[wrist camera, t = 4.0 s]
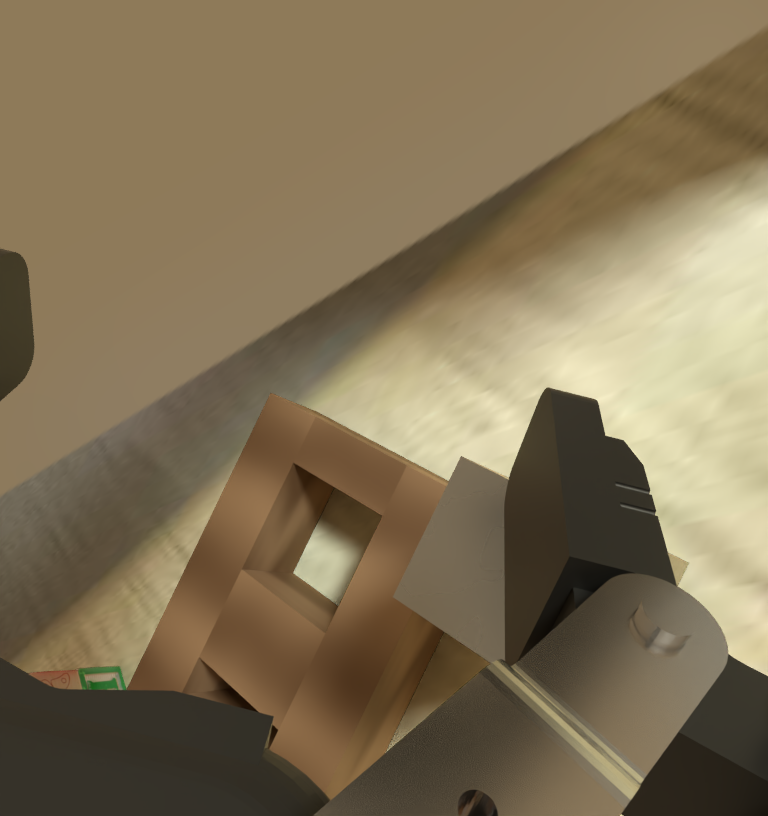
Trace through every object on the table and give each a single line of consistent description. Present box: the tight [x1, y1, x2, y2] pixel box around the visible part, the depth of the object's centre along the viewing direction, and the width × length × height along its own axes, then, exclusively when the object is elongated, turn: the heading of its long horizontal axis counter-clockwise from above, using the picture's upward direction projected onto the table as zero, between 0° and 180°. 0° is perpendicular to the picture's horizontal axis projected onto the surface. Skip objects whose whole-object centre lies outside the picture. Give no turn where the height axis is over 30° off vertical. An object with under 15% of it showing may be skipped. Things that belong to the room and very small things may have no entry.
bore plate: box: [127, 393, 449, 800], centre depth 33 cm, size 18×12×4 cm, turn 149°
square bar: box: [393, 456, 689, 663], centre depth 23 cm, size 4×4×14 cm
